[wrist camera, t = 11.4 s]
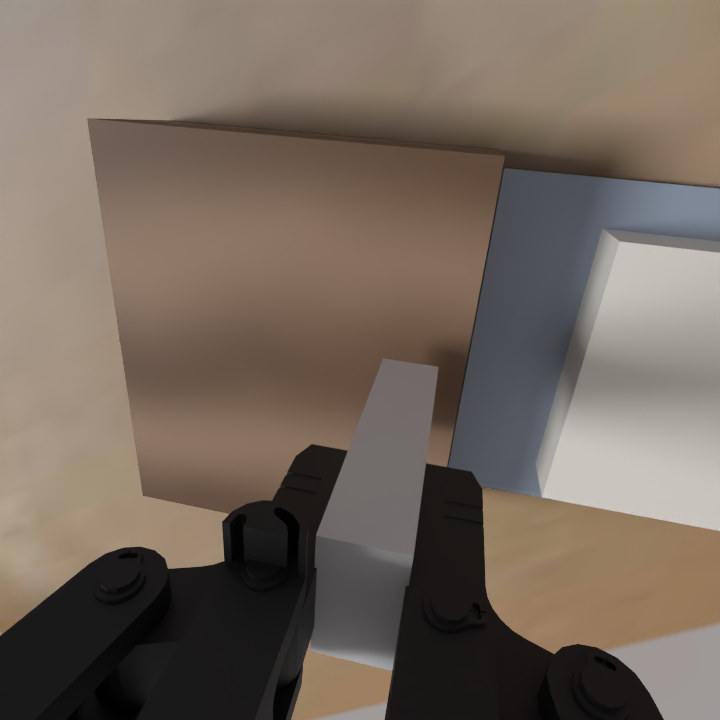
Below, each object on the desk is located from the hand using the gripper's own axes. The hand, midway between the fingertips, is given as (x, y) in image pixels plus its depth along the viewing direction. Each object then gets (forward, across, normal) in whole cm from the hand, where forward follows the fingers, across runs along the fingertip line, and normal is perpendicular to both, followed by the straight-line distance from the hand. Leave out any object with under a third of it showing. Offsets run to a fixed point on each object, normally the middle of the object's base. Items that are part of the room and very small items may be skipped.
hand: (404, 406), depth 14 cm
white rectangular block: (+3, +8, 0) cm, 9 cm away
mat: (+5, +6, 0) cm, 8 cm away
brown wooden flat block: (+5, -4, 0) cm, 7 cm away
